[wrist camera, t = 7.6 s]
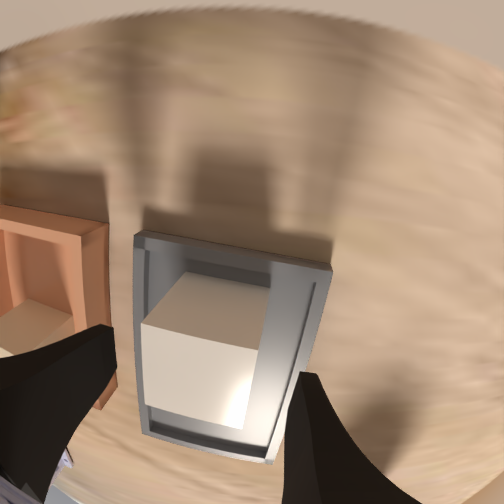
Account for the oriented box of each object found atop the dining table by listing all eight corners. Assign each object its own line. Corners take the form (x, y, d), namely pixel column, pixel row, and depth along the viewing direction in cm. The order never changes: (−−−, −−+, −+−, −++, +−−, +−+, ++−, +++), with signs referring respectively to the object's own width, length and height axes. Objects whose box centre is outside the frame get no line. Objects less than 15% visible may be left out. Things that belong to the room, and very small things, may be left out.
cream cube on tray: (256, 357, 16) (241, 428, 11) (181, 341, 16) (144, 404, 11) (270, 288, 15) (258, 350, 10) (185, 271, 15) (140, 323, 10)
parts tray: (273, 453, 19) (272, 464, 18) (147, 424, 19) (142, 433, 18) (330, 264, 14) (333, 272, 13) (143, 230, 15) (133, 235, 14)
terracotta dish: (117, 386, 19) (100, 410, 16) (22, 346, 19) (3, 362, 17) (109, 223, 15) (80, 236, 13) (2, 204, 16) (-25, 212, 14)
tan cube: (80, 366, 18) (39, 412, 13) (37, 347, 18) (-5, 385, 14) (73, 315, 17) (21, 359, 12) (28, 298, 17) (-23, 333, 12)
